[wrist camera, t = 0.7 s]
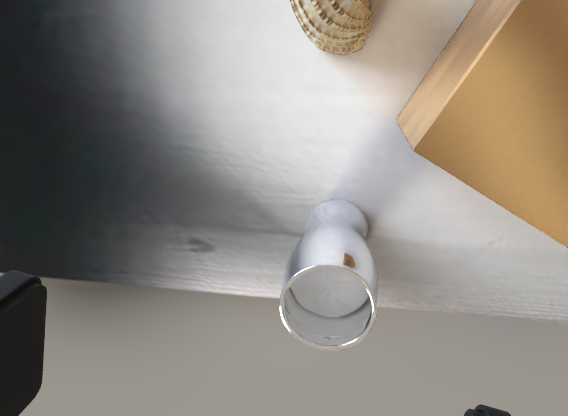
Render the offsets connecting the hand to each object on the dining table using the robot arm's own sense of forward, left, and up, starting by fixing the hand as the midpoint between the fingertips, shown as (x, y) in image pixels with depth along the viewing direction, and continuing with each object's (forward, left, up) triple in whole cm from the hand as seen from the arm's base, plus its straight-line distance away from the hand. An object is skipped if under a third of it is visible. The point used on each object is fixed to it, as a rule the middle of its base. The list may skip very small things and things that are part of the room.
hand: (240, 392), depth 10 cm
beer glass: (+9, -3, -35) cm, 36 cm away
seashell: (-10, +6, -35) cm, 36 cm away
